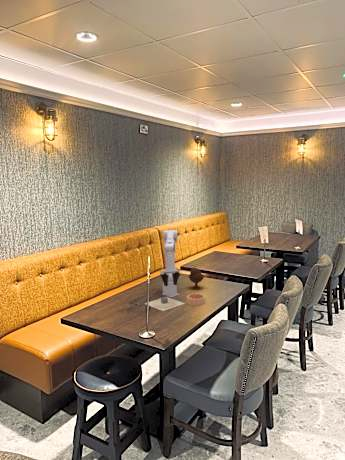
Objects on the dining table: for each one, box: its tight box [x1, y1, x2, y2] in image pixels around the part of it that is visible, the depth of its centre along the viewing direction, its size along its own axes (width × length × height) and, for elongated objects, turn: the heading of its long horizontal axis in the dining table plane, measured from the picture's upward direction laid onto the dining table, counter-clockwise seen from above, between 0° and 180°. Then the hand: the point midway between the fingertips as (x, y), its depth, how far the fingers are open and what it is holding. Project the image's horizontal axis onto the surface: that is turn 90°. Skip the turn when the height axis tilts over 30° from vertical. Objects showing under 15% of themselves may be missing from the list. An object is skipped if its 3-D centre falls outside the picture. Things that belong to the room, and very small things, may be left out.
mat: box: [144, 296, 186, 312], centre depth 228 cm, size 18×18×1 cm
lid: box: [153, 296, 176, 308], centre depth 228 cm, size 14×14×4 cm
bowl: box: [186, 293, 206, 307], centre depth 228 cm, size 11×11×4 cm
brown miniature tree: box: [188, 267, 205, 290], centre depth 258 cm, size 11×11×15 cm
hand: (170, 285), depth 222 cm, fingers open, 7 cm apart
